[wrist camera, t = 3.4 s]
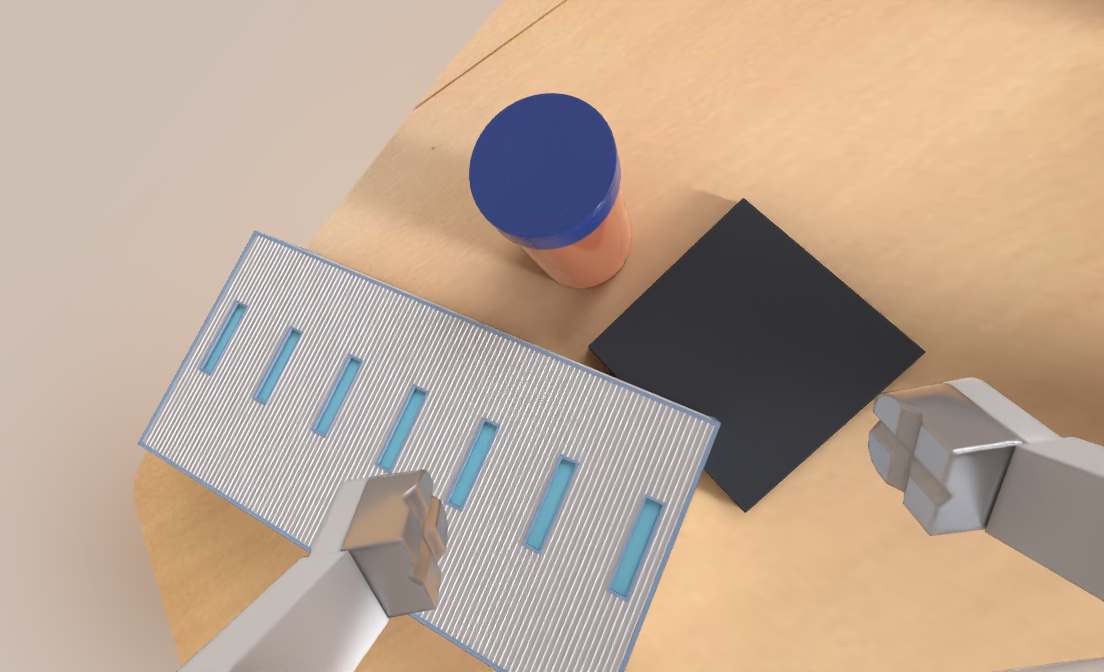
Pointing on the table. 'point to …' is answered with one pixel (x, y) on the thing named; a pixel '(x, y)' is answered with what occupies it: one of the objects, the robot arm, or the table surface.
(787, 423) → the mat
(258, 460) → the warehouse
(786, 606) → the table surface
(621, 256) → the jam jar
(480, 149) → the jam lid
